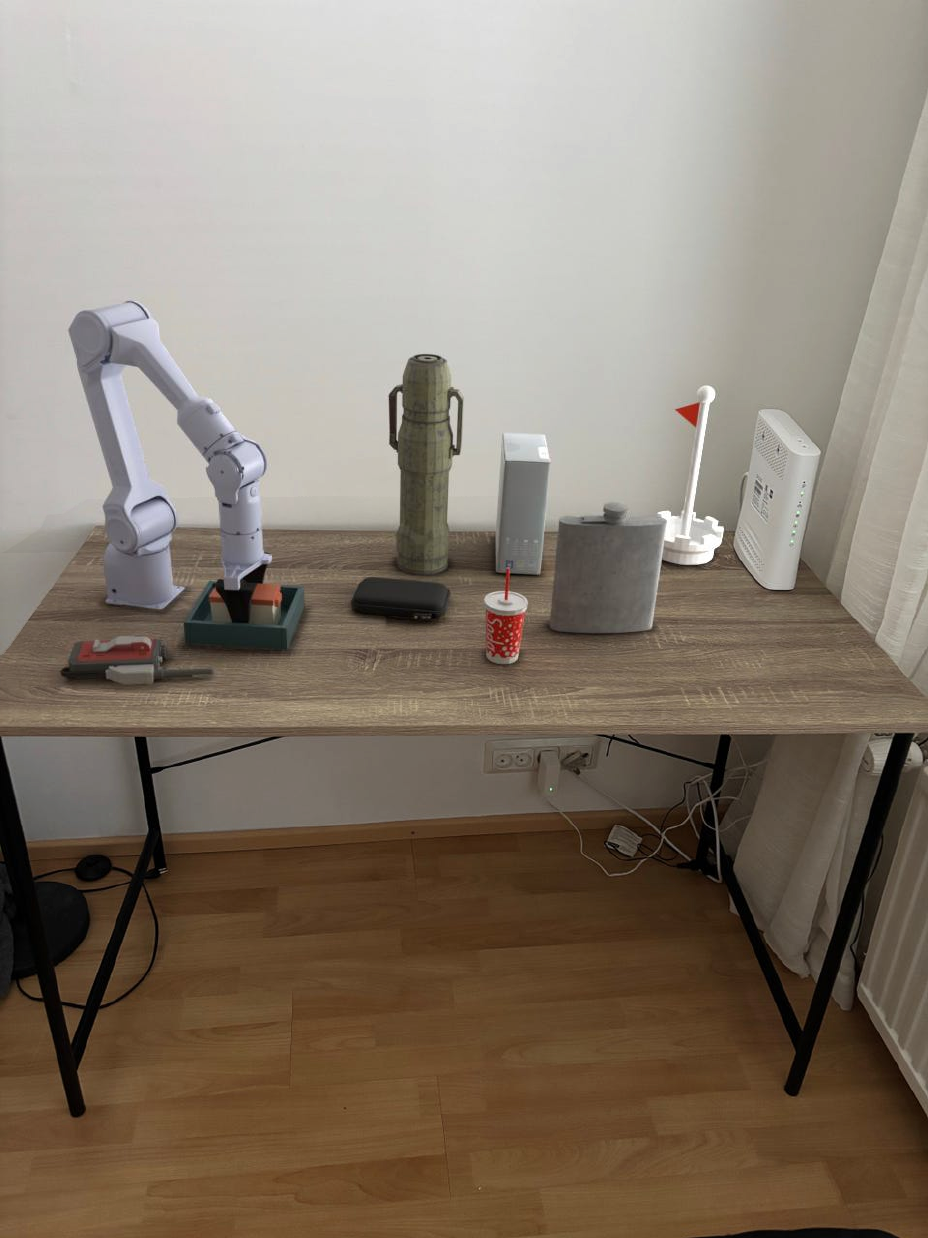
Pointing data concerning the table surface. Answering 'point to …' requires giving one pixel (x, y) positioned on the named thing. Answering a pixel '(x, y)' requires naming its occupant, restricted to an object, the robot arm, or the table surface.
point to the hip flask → (607, 572)
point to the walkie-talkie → (123, 661)
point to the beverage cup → (504, 624)
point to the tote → (244, 634)
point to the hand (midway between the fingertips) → (247, 612)
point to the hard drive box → (522, 503)
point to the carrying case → (401, 598)
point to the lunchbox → (252, 605)
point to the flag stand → (692, 500)
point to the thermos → (424, 462)
